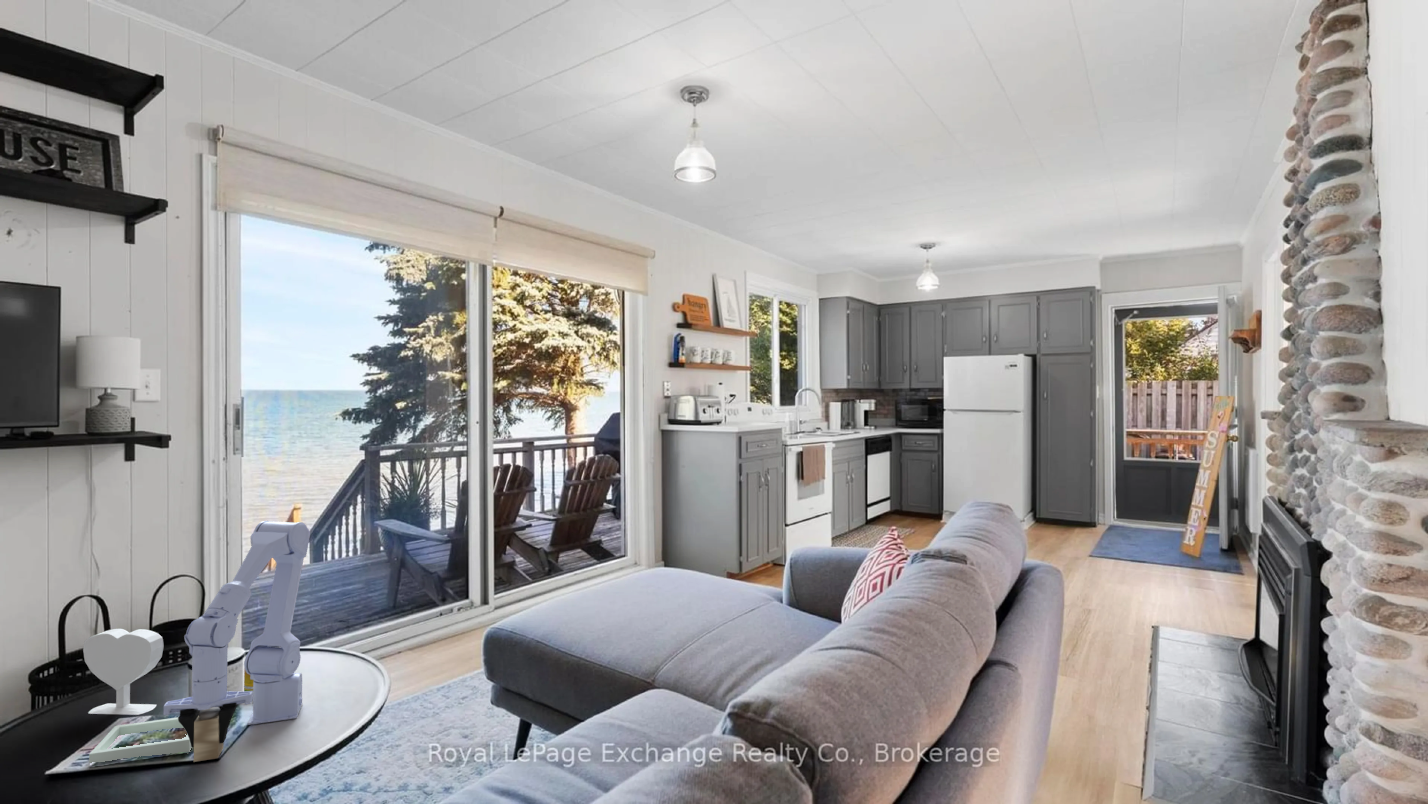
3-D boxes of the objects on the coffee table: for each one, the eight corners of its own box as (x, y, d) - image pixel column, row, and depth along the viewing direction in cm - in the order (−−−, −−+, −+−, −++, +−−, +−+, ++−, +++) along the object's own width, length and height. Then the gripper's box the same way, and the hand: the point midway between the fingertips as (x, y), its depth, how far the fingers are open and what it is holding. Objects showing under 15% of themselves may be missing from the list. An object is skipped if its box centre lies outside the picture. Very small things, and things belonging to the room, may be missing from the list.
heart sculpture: (165, 704, 158) (166, 628, 158) (147, 714, 153) (148, 635, 153) (99, 703, 158) (100, 626, 158) (79, 713, 153) (80, 634, 153)
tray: (206, 725, 149) (207, 713, 149) (189, 752, 138) (189, 739, 138) (115, 738, 143) (115, 725, 143) (88, 768, 132) (89, 753, 132)
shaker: (223, 747, 139) (224, 704, 139) (217, 757, 136) (218, 713, 136) (199, 751, 138) (200, 707, 138) (193, 761, 134) (194, 716, 134)
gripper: (158, 689, 130) (157, 759, 130) (247, 678, 136) (246, 745, 136) (170, 675, 137) (170, 741, 137) (255, 665, 142) (254, 729, 142)
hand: (208, 742), depth 137 cm, fingers closed on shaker, 4 cm apart
